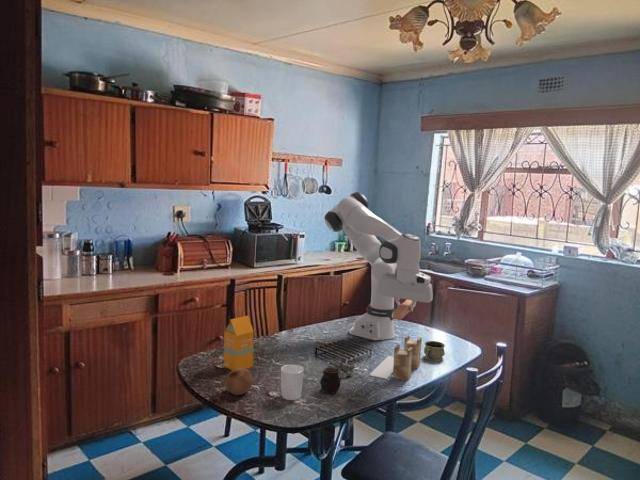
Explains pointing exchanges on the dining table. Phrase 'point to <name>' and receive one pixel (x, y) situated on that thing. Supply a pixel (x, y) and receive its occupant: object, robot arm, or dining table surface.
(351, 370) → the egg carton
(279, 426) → the dining table surface
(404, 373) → the post near
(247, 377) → the onion
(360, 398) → the dining table surface
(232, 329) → the orange juice
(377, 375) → the mat
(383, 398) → the dining table surface
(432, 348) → the vessel
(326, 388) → the mate gourd
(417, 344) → the post far
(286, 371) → the white cup
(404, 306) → the rail
